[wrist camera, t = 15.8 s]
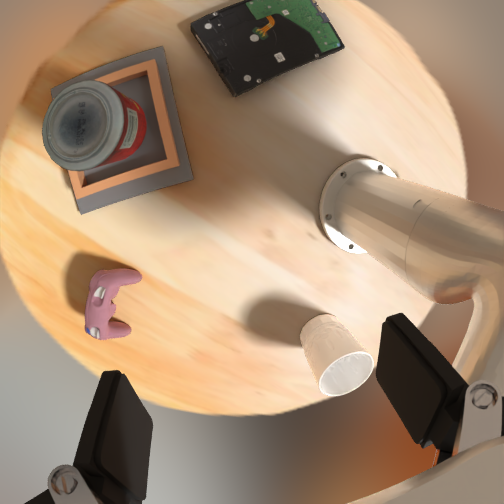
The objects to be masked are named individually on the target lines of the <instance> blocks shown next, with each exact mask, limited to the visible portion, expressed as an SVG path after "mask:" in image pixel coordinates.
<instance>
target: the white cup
mask: <svg viewBox="0 0 504 504" xmlns="http://www.w3.org/2000/svg"><path fill="white" fill-rule="evenodd" d="M300 341H301V345H302V347H303V349H304V353H305V356H306V358H307V361H308V363H309V366H310V368H311V371H312V373H313V375H314V378H315V380H316V382H317V385H318V387H319V389H320V391H321V392H322V393H323V394H325V395H328V396H339V395H343V394H346V393H349V392H351V391H353V390H354V389H356V388H358V387H359V386H360V385H361V384H363V383H364V382H365V381H366V380H367V378H368V377H369V376H370V374H371V372H372V370H373V366H374V360H373V358H372V356H371V355H370V354H369V353H368V351H367V350H366V349H365V348H364V347H363V346H362V344H361V343H360V342H359V341H358V340H357V339H356V338H355V336H354V335H353V334H352V333H351V332H350V331H349V330H348V329H347V327H345V326H344V325H343V324H342V323H341V322H340V321H339V320H338V319H337V317H336V316H333V315H329V314H324V315H318V316H316V317H314V318H313V319H311V320H309V321H308V322H307V323H306V325H305V326H304V327H303V328H302V331H301V334H300Z"/></svg>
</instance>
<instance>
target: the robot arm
mask: <svg viewBox="0 0 504 504" xmlns="http://www.w3.org/2000/svg"><path fill="white" fill-rule="evenodd" d="M341 172H342V175H341ZM340 175H341V176H340ZM319 211H320V220H321V224H322V227H323V229H324V231H325V233H326V235H327V236H328V238H329V239H330V240H331V241H332V242H333V243H334V244H335V245H336V246H338V247H339V248H341V249H342V250H344V251H347V252H350V253H366V252H367V253H368V254H369V255H371V256H372V257H373V258H375V259H376V260H377V261H379V262H380V263H381V264H383V265H384V266H385V267H387V268H388V269H389V270H391V271H392V272H393V273H395V274H396V275H397V276H398V277H400V278H401V279H402V280H404V281H405V282H406V283H407V284H409V285H410V286H411V287H412V288H414V289H415V290H416V291H417V292H419V293H420V294H421V295H422V296H424V297H425V298H427V299H428V300H430V301H432V302H435V303H439V304H456V303H460V302H463V301H466V300H469V299H473V301H474V311H473V314H472V318H471V321H470V323H469V327H468V330H467V333H466V335H465V337H464V340H463V342H462V345H461V347H460V349H459V351H458V354H457V356H456V358H455V360H454V362H453V364H452V365H451V364H450V363H449V362H448V361H447V360H446V358H444V356H443V355H442V354H441V353H440V352H439V351H438V350H437V348H436V347H435V346H434V345H433V344H432V343H431V342H430V341H428V340H427V338H426V337H425V336H424V335H423V334H422V333H421V332H420V331H419V330H418V329H417V328H416V327H415V325H414V324H413V323H412V322H411V321H410V320H409V319H408V318H407V317H406V316H405V315H404V314H403V313H398V314H395V315H392V316H389V317H387V318H386V321H385V322H383V324H382V332H381V340H380V348H379V355H378V362H377V368H376V378H377V381H378V383H379V384H380V386H381V387H382V389H383V390H384V392H385V393H386V395H387V397H388V399H389V400H390V402H391V404H392V405H393V407H394V409H395V410H396V412H397V413H398V415H399V417H400V418H401V420H402V422H403V424H404V425H405V427H406V429H407V430H408V432H409V434H410V435H411V437H412V439H413V440H414V442H415V443H416V444H419V443H420V445H421V447H422V448H425V447H427V446H429V445H431V444H434V446H435V447H436V449H437V451H436V455H435V459H434V463H433V467H432V468H430V469H428V470H426V471H424V472H422V473H420V474H418V475H416V476H414V477H412V478H410V479H408V480H406V481H403V482H401V483H399V484H397V485H394V486H392V487H390V488H387V489H385V490H382V491H380V492H377V493H375V494H372V495H370V496H367V497H364V498H361V499H359V500H356V501H353V502H350V503H347V504H504V211H501V210H498V209H495V208H491V207H488V206H485V205H482V204H479V203H476V202H473V201H470V200H467V199H464V198H461V197H458V196H455V195H452V194H449V193H446V192H443V191H440V190H436V189H433V188H430V187H427V186H423V185H420V184H417V183H413V182H410V181H406V180H403V179H399V178H397V176H396V175H395V173H394V172H393V171H392V170H391V169H390V168H389V167H388V166H387V165H385V164H384V163H382V162H380V161H377V160H373V159H367V158H360V159H354V160H351V161H349V162H346V163H345V164H343V165H342V166H340V167H339V168H338V169H337V170H336V171H335V172H334V173H333V174H332V175H331V176H330V178H329V179H328V181H327V182H326V184H325V187H324V189H323V191H322V195H321V199H320V208H319ZM326 214H327V217H325V216H326ZM152 430H153V422H152V419H151V417H150V415H149V414H148V412H147V410H146V409H145V407H144V406H143V404H142V402H141V401H140V399H139V397H138V396H137V394H136V392H135V391H134V389H133V387H132V386H131V384H130V382H129V380H128V379H127V377H126V375H125V374H121V372H120V371H119V370H113V371H104V372H103V373H102V375H101V378H100V381H99V384H98V387H97V389H96V392H95V396H94V398H93V401H92V404H91V407H90V409H89V412H88V415H87V418H86V421H85V424H84V428H83V431H82V434H81V438H80V442H79V445H78V448H77V452H76V456H75V459H74V463H73V466H71V465H60V466H58V467H56V468H55V469H53V470H52V472H51V473H50V475H49V477H48V488H49V489H47V490H46V491H44V492H42V493H41V494H39V495H38V496H36V497H34V498H33V499H31V500H30V501H28V502H26V503H25V504H142V500H145V498H146V490H147V478H148V467H149V456H150V447H151V438H152Z"/></svg>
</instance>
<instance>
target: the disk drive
mask: <svg viewBox="0 0 504 504" xmlns="http://www.w3.org/2000/svg"><path fill="white" fill-rule="evenodd" d="M316 4H317V3H316V2H315V0H244V1H242V2H239V3H236V4H233V5H231V6H229V7H226V8H223V9H221V10H219V11H216V12H214V13H211V14H209V15H206V16H204V17H202V18H201V19H199V20H197V21H195V22H192V23H191V32H192V33H193V35H194V36H195V37H196V39H197V40H198V42H199V44H200V45H201V47H202V48H203V50H204V51H205V53H206V54H207V56H208V58H209V59H210V61H211V62H212V64H213V65H214V67H215V68H216V70H217V71H218V73H219V75H220V76H221V78H222V80H223V81H224V83H225V84H226V86H227V87H228V89H229V91H230V92H231V94H232V96H233V97H236V96H238V95H240V94H242V93H244V92H247V91H249V90H251V89H253V88H255V87H256V86H258V85H260V84H262V83H264V82H266V81H268V80H270V79H272V78H274V77H277V76H279V75H281V74H283V73H286V72H288V71H290V70H292V69H295V68H297V67H299V66H302V65H304V64H307V63H309V62H312V61H314V60H317V59H321V58H323V57H326V56H328V55H330V54H333V53H336V52H338V51H340V50H342V49H344V48H345V46H344V44H343V43H342V41H341V39H340V37H339V36H338V34H337V32H336V31H335V29H334V28H333V26H332V24H331V23H330V22H329V19H328V17H327V16H326V14H325V13H322V10H321V9H320V7H319V6H318V5H316Z"/></svg>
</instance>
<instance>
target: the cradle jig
mask: <svg viewBox="0 0 504 504" xmlns="http://www.w3.org/2000/svg"><path fill="white" fill-rule="evenodd" d="M83 80H96V81H101V82H103V83H106V84H108V85H109V86H111V87H112V88H114V89H116V90H118V91H119V92H121V93H123V94H124V95H126V96H128V97H129V98H131V99H133V100H134V101H135V102H137V103H138V104H139V105H140V107H141V108H142V109H143V111H144V114H145V118H146V121H147V128H146V134H145V137H144V140H143V142H142V144H141V145H140V147H139V148H138V149H137V150H136V151H135V152H134V153H133V154H132V155H131V156H129V157H127V158H126V159H123V160H120V161H116V162H113V163H110V164H106V165H103V166H100V167H96V168H93V169H90V170H85V171H70V170H68V174H69V177H70V181H71V184H72V188H73V191H74V195H75V198H76V201H77V204H78V207H79V210H80V213H81V215H82V214H85V213H87V212H90V211H93V210H96V209H99V208H102V207H105V206H107V205H110V204H113V203H116V202H119V201H122V200H126V199H129V198H132V197H135V196H138V195H141V194H145V193H148V192H151V191H154V190H158V189H161V188H165V187H168V186H172V185H175V184H179V183H182V182H186V181H190V180H193V179H194V178H193V174H192V170H191V166H190V162H189V158H188V154H187V150H186V146H185V142H184V138H183V134H182V129H181V125H180V121H179V116H178V112H177V108H176V103H175V99H174V94H173V90H172V85H171V81H170V76H169V71H168V67H167V62H166V57H165V52H164V47H163V46H161V47H157V48H154V49H150V50H147V51H144V52H140V53H137V54H134V55H131V56H128V57H125V58H122V59H119V60H117V61H114V62H111V63H109V64H106V65H103V66H101V67H98V68H96V69H93V70H91V71H89V72H86V73H84V74H82V75H79V76H77V77H75V78H73V79H70V80H68V81H66V82H64V83H62V84H60V85H58V86H56V87H54V88H52V89H51V95H52V101H53V99H54V98H55V97H56V96H57V95H58V94H59V93H60V92H61V91H62V90H63V89H65V88H66V87H68V86H69V85H71V84H73V83H76V82H79V81H83Z"/></svg>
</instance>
